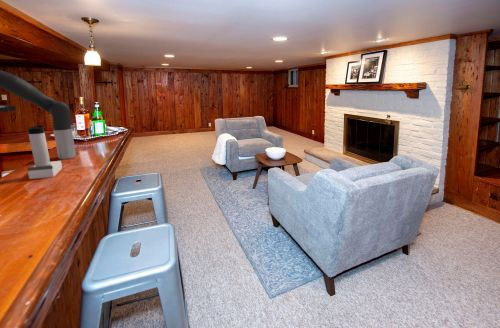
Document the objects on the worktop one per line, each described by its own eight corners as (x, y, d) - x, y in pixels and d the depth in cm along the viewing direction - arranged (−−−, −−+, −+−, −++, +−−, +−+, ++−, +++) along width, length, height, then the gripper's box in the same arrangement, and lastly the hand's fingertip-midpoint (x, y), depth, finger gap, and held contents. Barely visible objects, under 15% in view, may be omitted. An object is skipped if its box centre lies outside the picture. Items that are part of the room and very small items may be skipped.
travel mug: (54, 165, 148) (46, 125, 143) (41, 168, 142) (33, 127, 137) (45, 164, 150) (37, 124, 145) (32, 167, 144) (23, 126, 139)
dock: (40, 169, 155) (38, 159, 154) (62, 168, 158) (60, 158, 157) (29, 179, 140) (27, 167, 139) (53, 176, 143) (51, 165, 142)
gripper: (-42, 102, 129) (3, 101, 134) (-25, 101, 142) (16, 100, 147) (-37, 120, 131) (7, 118, 136) (-21, 116, 144) (19, 115, 149)
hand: (12, 108), depth 141 cm, fingers open, 8 cm apart
